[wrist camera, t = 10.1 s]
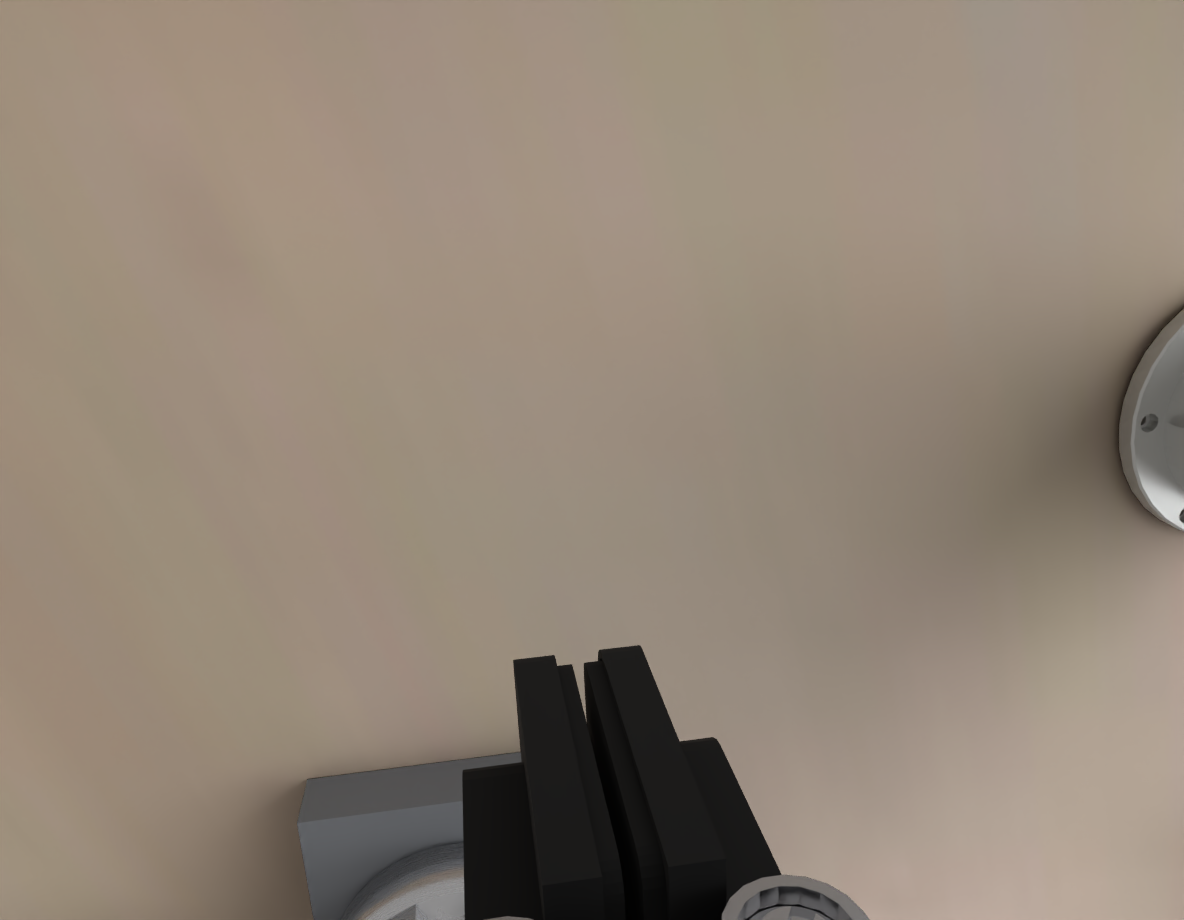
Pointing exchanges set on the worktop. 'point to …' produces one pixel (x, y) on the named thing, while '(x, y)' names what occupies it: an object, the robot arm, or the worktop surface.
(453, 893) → the gold-rimmed tube plate
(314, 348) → the worktop surface
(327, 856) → the grey rectangular base plate
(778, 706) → the worktop surface
